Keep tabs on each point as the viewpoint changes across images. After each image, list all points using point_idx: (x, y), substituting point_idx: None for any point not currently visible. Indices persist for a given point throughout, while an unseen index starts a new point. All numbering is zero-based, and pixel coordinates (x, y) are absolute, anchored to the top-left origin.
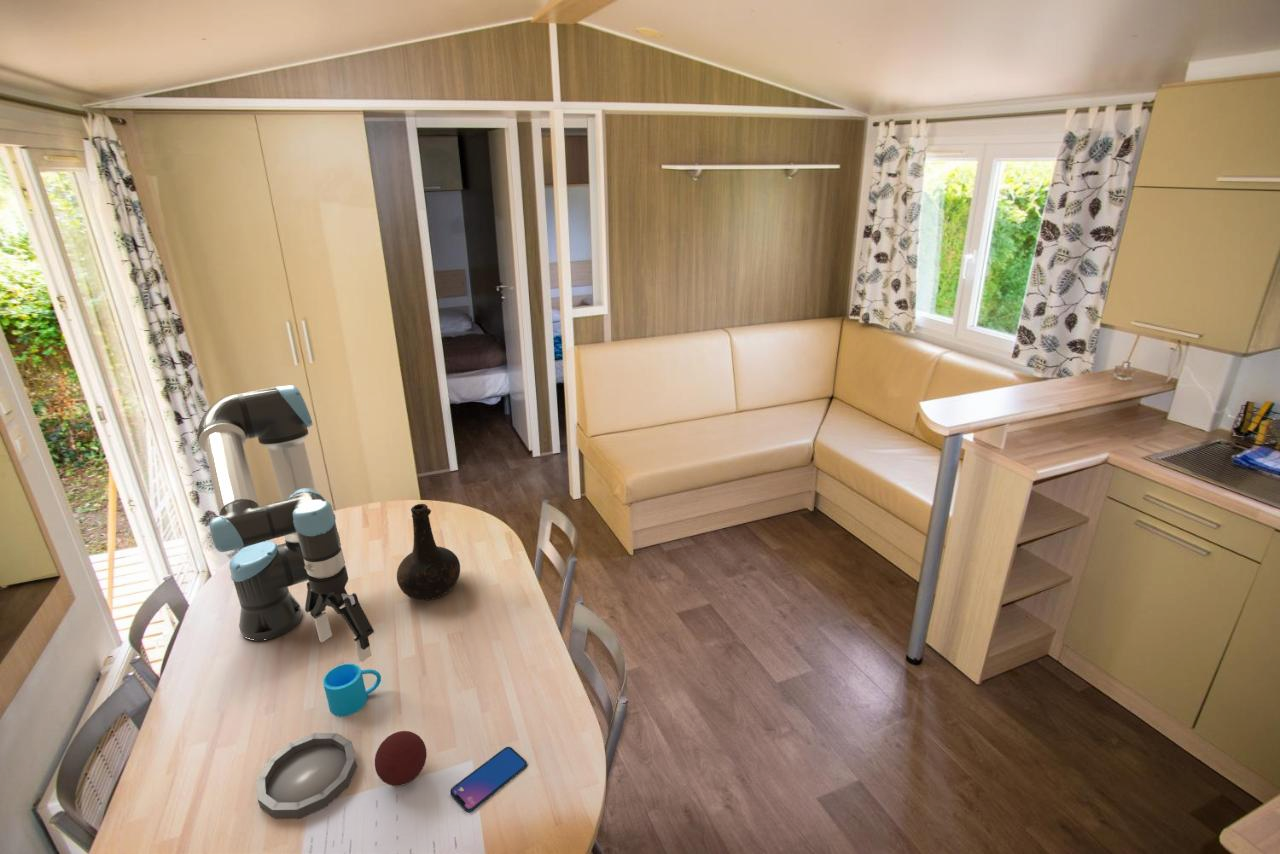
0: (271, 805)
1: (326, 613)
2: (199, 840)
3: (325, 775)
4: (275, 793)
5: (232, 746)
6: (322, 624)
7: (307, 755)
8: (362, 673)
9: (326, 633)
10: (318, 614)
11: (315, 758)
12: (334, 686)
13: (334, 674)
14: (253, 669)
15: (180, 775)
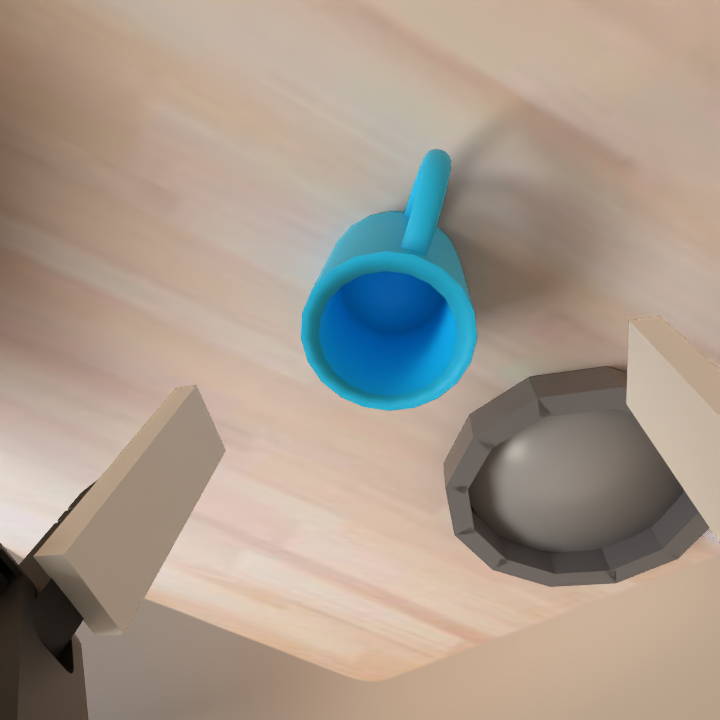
0: (602, 579)
1: (71, 550)
2: (506, 630)
3: (620, 459)
4: (545, 538)
5: (303, 529)
6: (150, 523)
7: (504, 456)
8: (427, 250)
9: (191, 441)
10: (63, 616)
11: (535, 449)
12: (423, 387)
13: (324, 336)
14: (21, 404)
15: (307, 600)
